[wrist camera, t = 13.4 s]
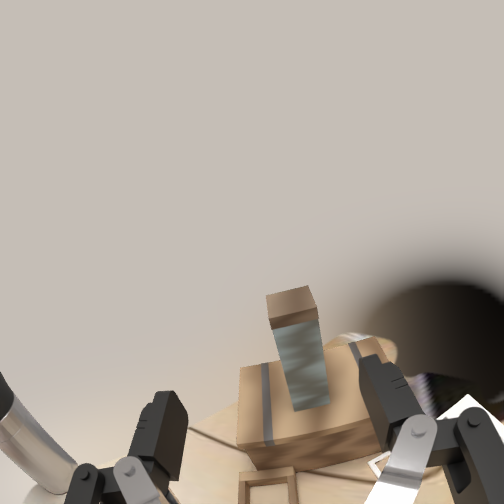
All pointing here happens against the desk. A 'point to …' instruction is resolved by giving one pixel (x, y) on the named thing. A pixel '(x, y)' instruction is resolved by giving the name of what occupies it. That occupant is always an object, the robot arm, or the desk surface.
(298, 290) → the grey block with cap
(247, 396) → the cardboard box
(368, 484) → the desk surface
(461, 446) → the robot arm
